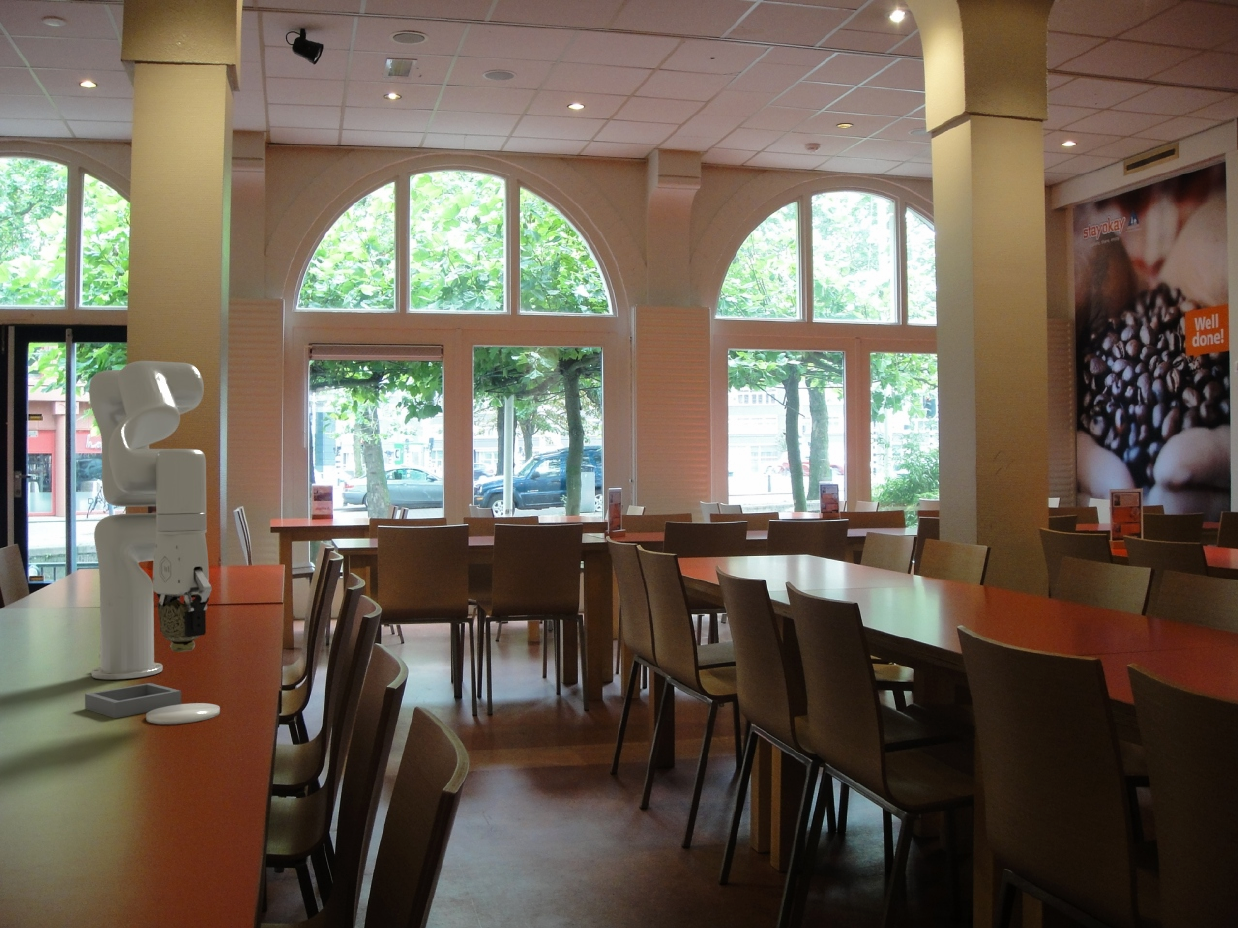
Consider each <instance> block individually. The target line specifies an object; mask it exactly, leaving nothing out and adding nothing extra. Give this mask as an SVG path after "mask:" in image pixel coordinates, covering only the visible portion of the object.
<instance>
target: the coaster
mask: <svg viewBox="0 0 1238 928" xmlns="http://www.w3.org/2000/svg"><path fill="white" fill-rule="evenodd" d="M220 707H221V706H219V705H218V704H214V703H205V702H200V703H199V702H196V703H194V702H192V703H181V704H179V705H172V706H166V707H161V708H158V709H154V710H152V711H149V712H146V713H145V714H146V715H145V720H146V722H147V723H151V724H153V725H154V724H155V725H178V724H179V725H181V724H190V723H196V722H200V721H201V722H202V721H206V720H210V719H213V718H215V717H217V716H219V715H220V713H221V708H220Z"/></svg>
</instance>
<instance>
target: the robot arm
mask: <svg viewBox="0 0 1238 928" xmlns="http://www.w3.org/2000/svg"><path fill="white" fill-rule="evenodd" d="M88 385H89V386H88V387H89V388H88V389H89V390H88V393H89V394H88V396H89V404H90V408H91V411H92V413H93V414H92V415H93V416H94V419H95V422H96V425H97V426H98V428H99V433H100V438H101V439H100V440H101V480H102V481H101V483H102V484H101V486H102V494H103V495H102V496H103V497H104V500H105V501H106V503H107V504H108V505H111V506H115V507H126V508H129V507H131V508H132V507H155V509H156V511H155V512H151V513H150V512H148V513H147V512H146V513H145V512H139V513H136V512H135V513H134V512H133V513H132V512H131V513H117V514H113V515H108V516H106V517H102V518H101V519H100V520H98V522H97V523H96V525H95V527H94V535H93V538H94V546H95V551H96V556H97V561H98V562H97V563H98V573H99V606H100V607H99V622H100V623H99V624H100V625H99V630H100V633H99V635H100V654H99V655H98V657H99V659H100V667H96V668H94V669H93V670H92V671H91V677H92V678H94V679H97V680H127V679H129V680H130V679H138V678H145V677H149V676H150V677H151V676H153V675H156V674H159V673H161V672H162V671H163V668H164V667H163V664H162V663H159V662H155V636H154V634H155V626H154V625H155V624H154V623H155V622H154V621H155V620H154V613H155V611H154V605H155V604H154V593H156V597H157V598H158V600H159V601H158V603H160V604H161V605H162V606H164V607H165V601H169V602H170V603H171V602H172V601H174V600H176V599H177V600H179V601H180V599H181V597H182V596H183V599H184V601H185V603H186V607H187V610H188V612H185V636H186V637H194V636H199V637H200V636H205V635H206V633H207V631H206V628H207V627H206V626H207V623H206V620H207V618H206V613H207V609H208V602H209V600H210V595H211V592H212V591H213V589H212V588H213V587H212V585H211V583H210V582H209V581H210V578H209V577H210V573H209V557H208V556H209V554H208V546H207V537H206V533H208V529H207V518H208V517H207V460H206V459H207V458H206V455H205V453H204V451H202V450H200V449H194V448H150V445H152V444H155V443H157V442H160V441H162V440H164V439H167V438H168V437H170V436H172V434H174V433H175V432H176V430H177V429H178V427H179V425H180V422H181V415H183V414H185V413H189V412H190V411H193V410H194V409H196V408H197V407H198V406H199V405H200V404H201V402H202V400H203V397H204V389H205V388H204V387H205V385H204V379H203V376H202V374H201V372H200V370H198V368H197V367H196V366H195V365H193V364H191V363H188V362H180V361H179V362H176V361H157V360H137V361H133V362H130V363H128V364H126V365H124V366H123V367H122V368H121V369H110V370H109V369H108V370H102V371H99V372H96V373H95V374H94V375H93V376H92V377H91V378H90V382H89V384H88ZM151 561H153V563H152V578H151V577H150V576H149V575H148V573H147V572H146V571H145V570H144V569H143V568H142V567H141V566H140V564H139V563H141V562H151ZM193 599H194V601H193V602H192V600H193ZM205 610H206V611H205ZM159 628H160V629H159V630H160V632H161V633H162V631H161V627H159Z"/></svg>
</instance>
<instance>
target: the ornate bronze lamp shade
mask: <svg viewBox="0 0 1238 928" xmlns="http://www.w3.org/2000/svg"><path fill="white" fill-rule="evenodd" d="M194 599H195V598H192V602H193V601H194ZM156 606H157V610H158V611H157V613H158V619H159V620H158V621H159V626H160V627H161V631H162V632H161V631H160V632H161V634H162V637H164V638H165V640H167V641H169V642H171V643H170V645H169V647H170V649H171V651H173V652H178V653H184V652H190V651H193V650H194V648H195V646H196V643H195V641H194V640H197V639H198V638H200V636H194V637H186V636H185V612H188V610H187V607H186V603H185V600H184V601H183V602H181V600H180V599H179V600H177V599H176V600H174V601H172V602H171V603H170V602H169V601H165V607H164V606H162V605H161V604H160V603H159V602H157V603H156ZM205 611H206V612H207V610H205ZM160 627H159V628H160Z"/></svg>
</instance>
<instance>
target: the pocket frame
mask: <svg viewBox="0 0 1238 928" xmlns="http://www.w3.org/2000/svg"><path fill="white" fill-rule="evenodd" d="M179 704H182V690H179V689H175V688H170V687H167V686H164V685H158V684H156V683H151V682H146V683H142V684H137V685H129V686H124V687H123V686H122V687H119V688H113V689H112V688H111V689H108V690H100V691H95V692H89V693H85V694H84V709H85V710H88V711H91V712H94V713H97V714H101V715H103V716H107V717H110V718H113V719H119V718H123V717H129V716H134V715H140V714H146V713H148V712H149V711H152V710H154V709H158V708H161V707H166V706H172V705H179Z"/></svg>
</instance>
